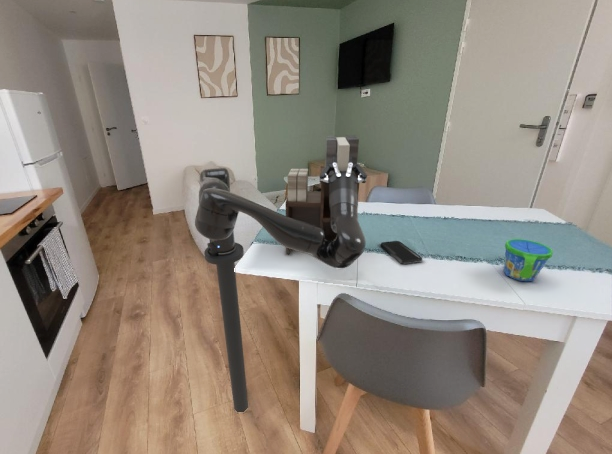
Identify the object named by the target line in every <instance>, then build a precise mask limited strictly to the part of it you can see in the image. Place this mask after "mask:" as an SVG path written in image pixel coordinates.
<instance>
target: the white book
mask: <svg viewBox="0 0 612 454" xmlns="http://www.w3.org/2000/svg"><path fill="white" fill-rule="evenodd" d="M335 137H336V136H335ZM336 140H337V143H336V155H337V167H339V171H347V168H348V162H349V148H350V145H349V143H348V141H347V140H346V136H339V137H338V136H337V137H336Z"/></svg>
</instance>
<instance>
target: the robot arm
mask: <svg viewBox="0 0 612 454" xmlns="http://www.w3.org/2000/svg"><path fill="white" fill-rule="evenodd" d="M324 167H325V166H324ZM330 171H333V175H332V176H331V177H330V178H328V175H329V173H330ZM352 171H354V172H355V174H356V175H357V177H358V178H357V177H355V176H354V175H353V174H352V173H351V172H352ZM198 178H199V179H198V181H199V182H198V183H199V190H198V207H197V211H196V215H195V219H194V220H195V221H194V226H195V229H196V230H197V232H198V233H199V234H200V236H202V237H204V238H206V239H208V240H209V242H208V243H207V247H208V251H207V252H208V254H209V255H212V254H214V255H215V256H219V255H220V256H223V255H229V254H231V253H233V252H234V251H235V243H236V240H235V227H236V223H237V221H238V216H239V214H240V213H243V214H245V215H247V216H249V217H251V218H252V219H254V220H255V221H256V222H258V223H259V224H260V226H262V227H263V228H264V230H265V231H266V232H267V233H268V234H269V235H270V236H271V237H272V238H273V240H275V242H277V243H278V244H280V245H281V246H283V247H285V248H286V247H287V248H290V250H293V251H296V252H300V253H304V254H308V255H311V256H312V257H314V258H315V259H317V261H320V262H322V263H323V264H325V265H327V266H329V267H332V268H335V269H345V268H348V267H350V266H351V265H352V264H354V262H355V261H356V260H357V259H359V258H360V257H361V256H362V255H363V253H364V252H365V249H366V238H365V235H364V232H363V229H362V227H361V225H360V223H359V212H358V211H359V210H358V209H359V194H358V195H357V185H358V183H359V184H360V183H362V184H366V182H367V178H368V174H367V173H366V172H365V171H364V169H363V168H362V166H360V164H359V163H357V164H355V165H354V164H353V163H352V157H350V155H349V162H348V168H347V171H339V167H337V155H335V157H333V161H332V165H330V164H327V165H326V167H325V168H324V170H323V171H322V170H321V173H320V174H319V183H320V184H321V183H323V182H327V183H328V185H329V207H330V225H331V229H332V230H333V231H334V232H335V233H337V235H336V237H335V239H334V240H333V241H328V240H326V239H325V232H324V230H323V229H322V228H321V227H318V226H316V225H312V224H309V223H306V222H303V221H299V220H296V219H293V218H290V217H287V216H286V214H285V215H284V214H282V213H280V212H277V211H276V210H273V209H271V208H268V207H267V206H264V205H262V204H259V203H258V202H255V201H253V200H250V199H248V198H246V197H244V196H241V195H238V194H236V193H233V192H231V181H230V172H229V170H228V169H227V168H226V167H216V168H206V169H203V170H201V172H199V177H198ZM209 251H210V252H211V253H212V254H211V253H210V252H209Z"/></svg>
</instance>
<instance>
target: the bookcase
mask: <svg viewBox="0 0 612 454" xmlns="http://www.w3.org/2000/svg"><path fill="white" fill-rule="evenodd" d="M345 138H346V140H347V141H348V143H349V145H350V148H349V155H350V157H352V163H353V164H354V165H355V164H358V157H359V156H358V155H359V143H360V139H359V138H358V137H357V136H356V135H355V134H354V135H352V134H351V135H346V136H345ZM336 143H337V140H336V135H326V136H325V162H324V163H325V164H324V166H321V172H322V171H323V170H324V168H325V167H326V165H327V164H330V165H332V161H333V157H335V155H336ZM351 173H352V174H353V175H354V176H355V177H357V175H356V174H355V172H354V171H352V172H351ZM332 175H333V171H330V173H329V175H328V178H330V177H331V176H332ZM357 178H358V177H357ZM359 191H360V183H358V185H357V195H358V196H359ZM285 216H287V217H290V218H293V219H296V220H299V221H303V222H306V223H309V224H312V225H316V226H318V227H321V228H322V229H323V230H324V232H325V239H326V240H328V241H331V242H332V241H333V240H334V239H335V237H336V235H337V233H335V232H334V231H333V230H332V229H331V225H330V207H329V185H328V183H327V182H323V183H320V191H317V190H316V191H314V190H313V191H312V190H311V191H310V190H309V168H291V169H290V170H289V172H288V174H287V197H286V200H285ZM290 252H291V249H290V248H287V247H285V253H286V254H285V255H290Z"/></svg>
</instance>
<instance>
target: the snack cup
mask: <svg viewBox="0 0 612 454" xmlns="http://www.w3.org/2000/svg"><path fill="white" fill-rule="evenodd" d="M504 248H505V253H504V262H503V272H504V274H505V276H507V277H510V278H512V279H513V280H517V281H518V282H533V281H535V280H536V278H537V277H538V276H539V274H540V273H541V271H542V269H543V268H544V266H545V265H546V263H547V261H548V260H549V259H551V258H552V257H553V253H554V251H553V249H552V248H551V247H549V246H548V245H545V244H544V243H541V242H537V241H534V240H531V239H524V238H523V239H522V238H512V239H508V240H506V242H505V243H504Z"/></svg>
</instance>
